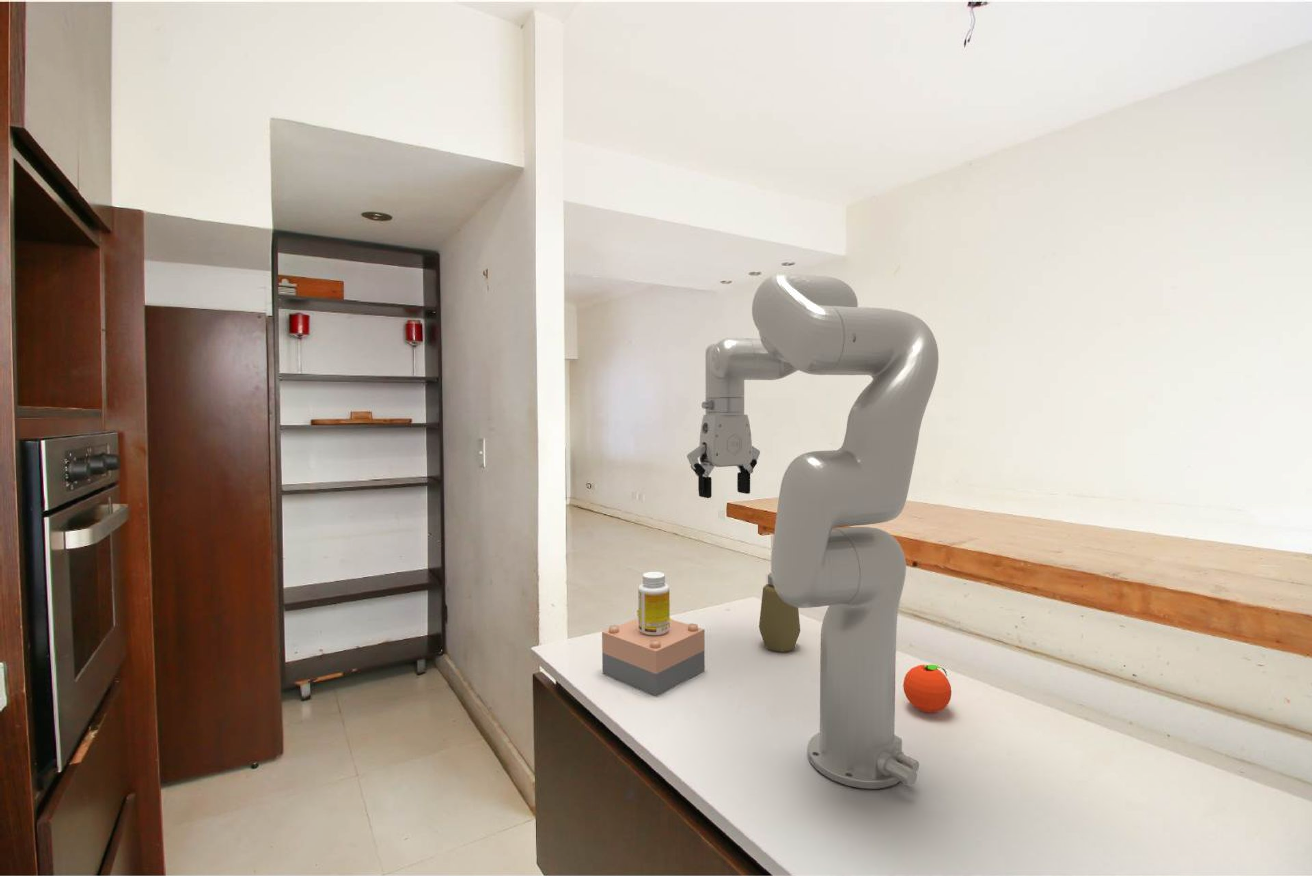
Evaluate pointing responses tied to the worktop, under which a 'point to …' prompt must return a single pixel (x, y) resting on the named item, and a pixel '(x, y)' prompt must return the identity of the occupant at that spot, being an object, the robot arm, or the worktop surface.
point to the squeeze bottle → (778, 620)
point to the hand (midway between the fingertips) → (724, 495)
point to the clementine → (927, 688)
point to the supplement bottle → (654, 604)
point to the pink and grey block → (653, 655)
